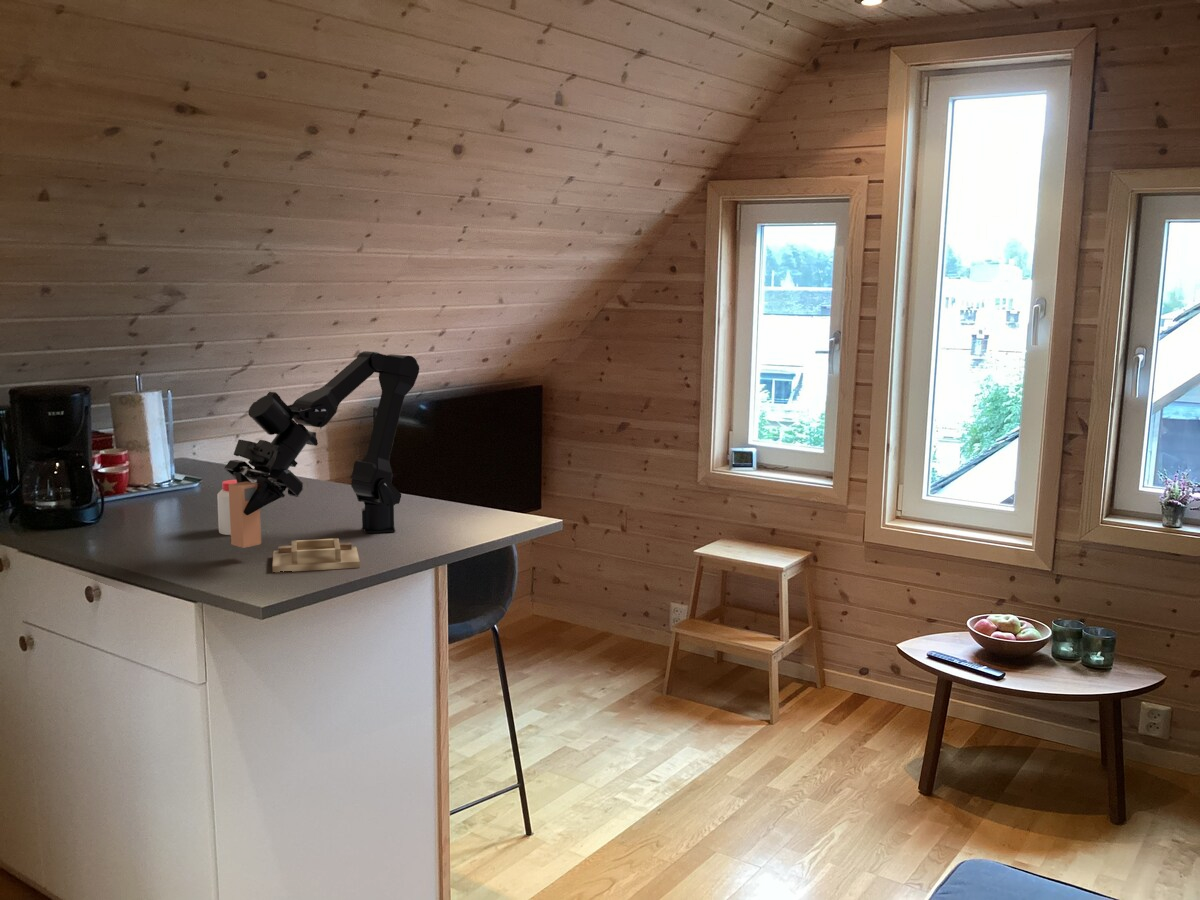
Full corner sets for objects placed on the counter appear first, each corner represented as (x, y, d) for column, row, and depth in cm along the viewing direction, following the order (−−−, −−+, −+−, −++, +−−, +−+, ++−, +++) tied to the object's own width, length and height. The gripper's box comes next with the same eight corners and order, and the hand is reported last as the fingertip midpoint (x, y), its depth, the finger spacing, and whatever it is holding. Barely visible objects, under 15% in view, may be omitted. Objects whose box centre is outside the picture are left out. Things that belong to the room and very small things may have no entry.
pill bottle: (243, 525, 239) (241, 477, 237) (263, 530, 234) (261, 481, 232) (211, 531, 233) (209, 481, 231) (231, 536, 228) (229, 486, 226)
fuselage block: (249, 540, 212) (246, 481, 210) (261, 543, 210) (258, 483, 208) (231, 544, 209) (228, 484, 207) (243, 547, 206) (240, 486, 204)
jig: (356, 552, 216) (355, 534, 216) (359, 567, 205) (359, 548, 204) (273, 556, 212) (273, 538, 211) (272, 572, 201) (272, 553, 200)
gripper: (230, 419, 214) (183, 481, 207) (288, 428, 203) (239, 494, 196) (266, 453, 222) (221, 514, 215) (323, 463, 210) (277, 528, 203)
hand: (238, 512), depth 207 cm, fingers closed on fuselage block, 4 cm apart
